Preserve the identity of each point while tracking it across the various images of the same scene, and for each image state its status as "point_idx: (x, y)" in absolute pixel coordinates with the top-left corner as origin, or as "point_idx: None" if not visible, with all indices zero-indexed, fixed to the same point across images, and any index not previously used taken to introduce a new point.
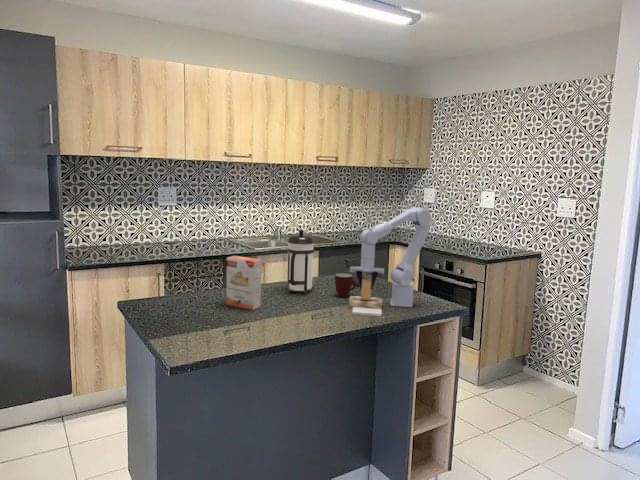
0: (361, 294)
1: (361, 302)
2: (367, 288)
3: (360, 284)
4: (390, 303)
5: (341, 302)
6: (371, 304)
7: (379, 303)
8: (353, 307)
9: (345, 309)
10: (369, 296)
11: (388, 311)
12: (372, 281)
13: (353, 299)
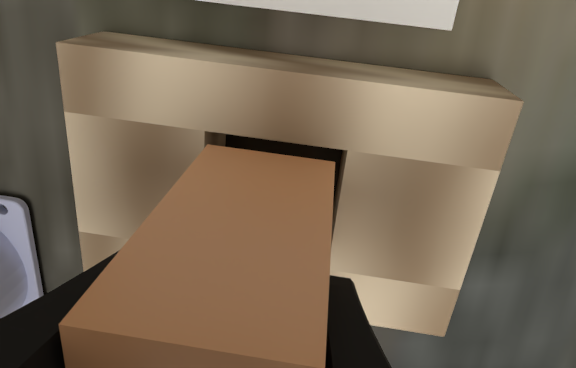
0: (330, 193)
1: (336, 76)
2: (208, 234)
3: (355, 327)
4: (37, 261)
5: (525, 279)
6: (201, 56)
7: (87, 47)
8: (449, 16)
9: (549, 15)
10: (207, 166)
11: (25, 3)
12: (20, 343)
13: (433, 196)
